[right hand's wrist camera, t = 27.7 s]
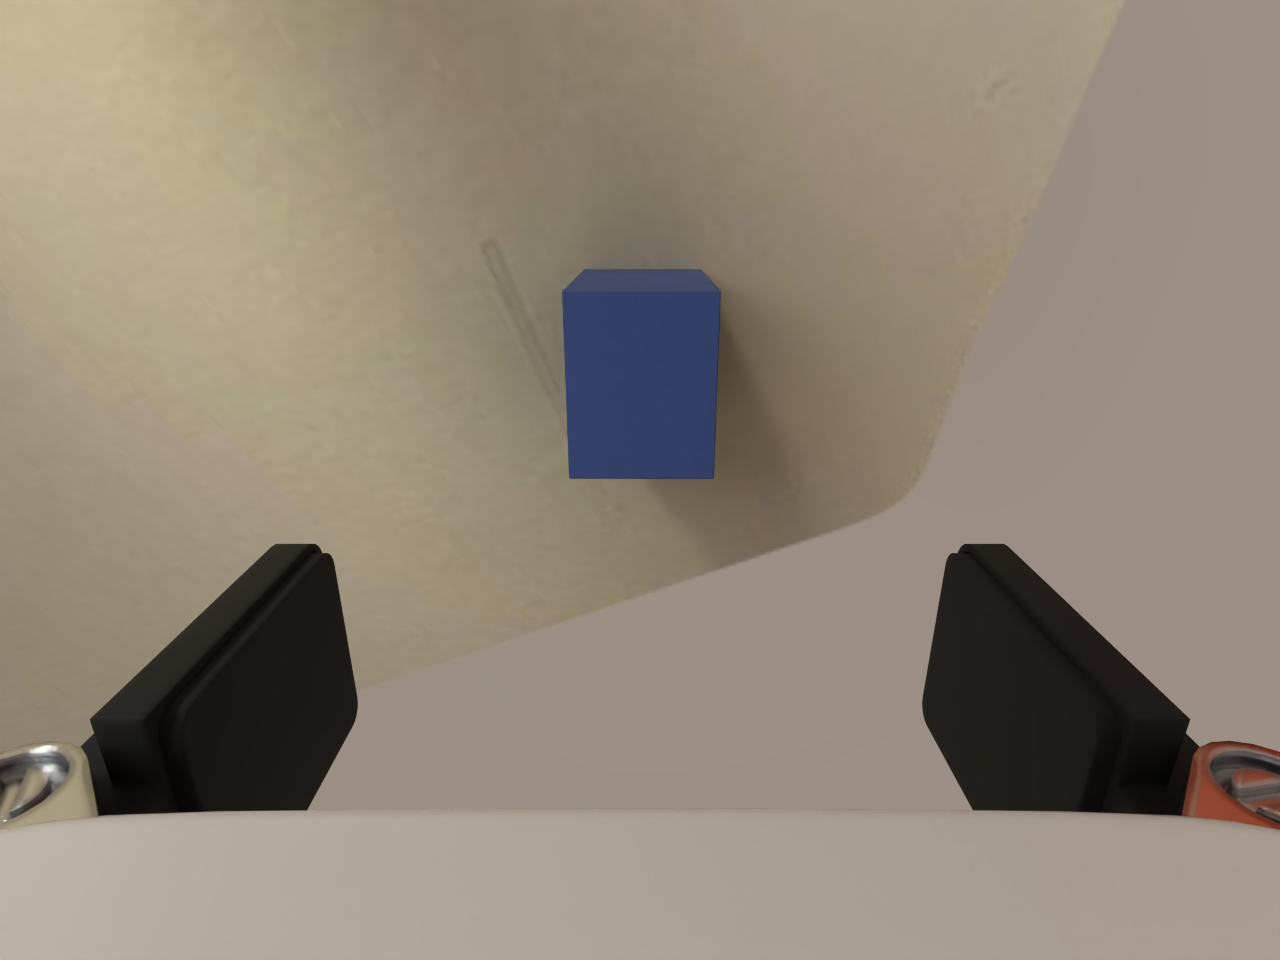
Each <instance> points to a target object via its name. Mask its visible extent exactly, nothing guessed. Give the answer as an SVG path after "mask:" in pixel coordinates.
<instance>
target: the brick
mask: <svg viewBox="0 0 1280 960" xmlns="http://www.w3.org/2000/svg"><path fill="white" fill-rule="evenodd" d="M720 298H721V292H720V290H719V289H718V288H717V287H716V286H715V285H714V284H713V282H712V281H711V280H710V279H709V278H708V277H707V276H706V275H705V273H704V272H703V271H702V270H583V271H582V272H581V273H580V274H579V275H578V276H577V277H576V278H575V279H574V280H573V281H572V282H571V283H570V284H569V285H568V286H567V287H566V288H565V289H564V290H563V292H562V299H563V325H564V352H565V379H566V405H567V432H568V459H569V478H571V479H713V478H714V459H715V432H716V405H717V379H718V352H719V325H720Z"/></svg>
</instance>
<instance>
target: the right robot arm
mask: <svg viewBox="0 0 1280 960" xmlns="http://www.w3.org/2000/svg"><path fill="white" fill-rule="evenodd" d="M357 707H358V701H357V693H356V687H355V682H354V676H353V670H352V664H351V658H350V653H349V647H348V641H347V635H346V629H345V624H344V618H343V612H342V606H341V600H340V595H339V589H338V583H337V577H336V571H335V565H334V561H333V558H332V557H331V555H330V554H328V553H322V551H321V549H320V548H319V546H317V545H316V544H275V545H274V546H272V547H271V548H270V549H269V550H268V551H267V552H266V553H265V554H264V555H262V556H261V557H260V558H259V559H258V560H257V561H256V562H255V563H254V564H253V565H252V566H251V567H250V568H249V569H248V570H247V571H246V572H245V573H244V574H242V575H241V576H240V577H239V578H238V579H237V580H236V581H235V582H234V583H233V584H232V585H231V586H230V587H229V588H228V589H227V590H226V591H225V592H224V593H222V594H221V595H220V596H219V597H218V598H217V599H216V600H215V601H214V602H213V603H212V604H211V605H210V606H209V607H208V608H207V609H206V610H205V611H203V612H202V613H201V614H200V615H199V616H198V617H197V618H196V619H195V620H194V621H193V622H192V623H191V624H190V625H189V626H188V627H187V628H186V629H185V630H183V631H182V632H181V633H180V634H179V635H178V636H177V637H176V638H175V639H174V640H173V641H172V642H171V643H170V644H169V645H168V646H167V647H166V648H164V649H163V650H162V651H161V652H160V653H159V654H158V655H157V656H156V657H155V658H154V659H153V660H152V661H151V662H150V663H149V664H148V665H147V666H146V667H144V668H143V669H142V670H141V671H140V672H139V673H138V674H137V675H136V676H135V677H134V678H133V679H132V680H131V681H130V682H129V683H128V684H127V685H126V686H124V687H123V688H122V689H121V690H120V691H119V692H118V693H117V694H116V695H115V696H114V697H113V698H112V699H111V700H110V701H109V702H108V703H107V704H105V705H104V706H103V707H102V708H101V709H100V710H99V711H98V712H97V713H96V714H95V715H94V716H93V717H92V718H91V719H90V722H91V725H92V728H93V730H94V734H93V735H92V736H91V737H90V738H89V739H88V740H87V741H86V742H85V743H84V744H83V745H82V746H81V747H79V746H76V745H74V744H72V743H69V742H58V741H46V742H39V743H32V744H26V745H23V746H19V747H16V748H12V749H9V750H5V751H2V752H0V960H1280V752H1278V751H1275V750H1271V749H1268V748H1264V747H1261V746H1257V745H1254V744H1248V743H1241V742H1234V741H1222V742H1211V743H1208V744H1206V745H1204V746H1201V747H1199V746H1198V745H1197V744H1196V743H1195V742H1194V741H1193V740H1192V739H1191V738H1190V737H1189V736H1188V735H1187V734H1186V730H1187V727H1188V725H1189V722H1190V719H1189V718H1188V717H1187V716H1186V715H1185V714H1184V713H1183V712H1182V711H1181V710H1180V709H1179V708H1178V707H1177V706H1176V705H1174V704H1173V703H1172V702H1171V701H1170V700H1169V699H1168V698H1167V697H1166V696H1165V695H1164V694H1163V693H1162V692H1161V691H1160V690H1159V689H1158V688H1157V687H1156V686H1154V685H1153V684H1152V683H1151V682H1150V681H1149V680H1148V679H1147V678H1146V677H1145V676H1144V675H1143V674H1142V673H1141V672H1140V671H1139V670H1138V669H1137V668H1135V667H1134V666H1133V665H1132V664H1131V663H1130V662H1129V661H1128V660H1127V659H1126V658H1125V657H1124V656H1123V655H1122V654H1121V653H1120V652H1119V651H1118V650H1117V649H1116V648H1114V647H1113V646H1112V645H1111V644H1110V643H1109V642H1108V641H1107V640H1106V639H1105V638H1104V637H1103V636H1102V635H1101V634H1100V633H1099V632H1098V631H1096V630H1095V629H1094V628H1093V627H1092V626H1091V625H1090V624H1089V623H1088V622H1087V621H1086V620H1085V619H1084V618H1083V617H1082V616H1081V615H1080V614H1079V613H1078V612H1077V611H1075V610H1074V609H1073V608H1072V607H1071V606H1070V605H1069V604H1068V603H1067V602H1066V601H1065V600H1064V599H1063V598H1062V597H1061V596H1060V595H1059V594H1058V593H1056V592H1055V591H1054V590H1053V589H1052V588H1051V587H1050V586H1049V585H1048V584H1047V583H1046V582H1045V581H1044V580H1043V579H1042V578H1041V577H1040V576H1038V574H1036V573H1035V572H1034V571H1033V570H1032V569H1031V568H1030V567H1029V566H1028V565H1027V564H1026V563H1025V562H1024V561H1023V560H1022V559H1021V558H1020V557H1019V556H1018V555H1016V554H1015V553H1014V552H1013V551H1012V550H1011V549H1010V548H1009V547H1008V546H1006V545H1005V544H964V545H963V546H961V548H960V549H959V551H958V553H951V554H950V555H949V557H948V558H947V561H946V565H945V571H944V577H943V583H942V589H941V595H940V600H939V606H938V612H937V618H936V624H935V630H934V635H933V641H932V647H931V653H930V659H929V664H928V670H927V676H926V682H925V687H924V693H923V701H922V708H923V715H924V719H925V722H926V724H927V726H928V728H929V730H930V732H931V734H932V736H933V737H934V739H935V741H936V743H937V745H938V747H939V749H940V750H941V752H942V754H943V756H944V758H945V759H946V761H947V763H948V765H949V767H950V769H951V771H952V772H953V774H954V776H955V778H956V780H957V782H958V784H959V785H960V787H961V789H962V791H963V793H964V795H965V796H966V798H967V800H968V802H969V804H970V806H971V807H972V809H973V810H866V809H756V808H755V809H753V808H493V809H408V810H314V811H307V809H308V807H309V806H310V804H311V802H312V800H313V798H314V796H315V794H316V793H317V791H318V789H319V787H320V785H321V783H322V782H323V780H324V778H325V776H326V774H327V772H328V771H329V769H330V767H331V765H332V763H333V761H334V759H335V758H336V756H337V754H338V752H339V750H340V749H341V747H342V745H343V743H344V741H345V739H346V737H347V736H348V734H349V732H350V730H351V728H352V726H353V724H354V722H355V719H356V715H357Z"/></svg>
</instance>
